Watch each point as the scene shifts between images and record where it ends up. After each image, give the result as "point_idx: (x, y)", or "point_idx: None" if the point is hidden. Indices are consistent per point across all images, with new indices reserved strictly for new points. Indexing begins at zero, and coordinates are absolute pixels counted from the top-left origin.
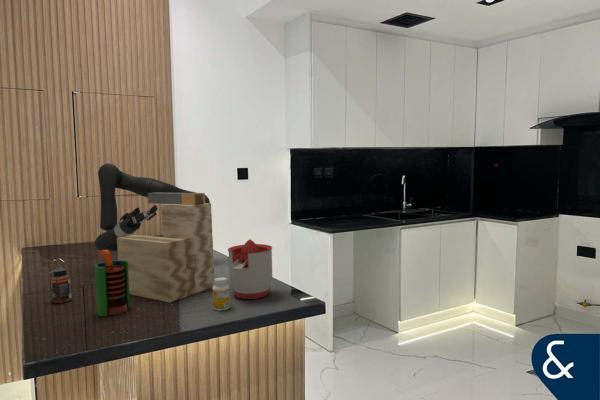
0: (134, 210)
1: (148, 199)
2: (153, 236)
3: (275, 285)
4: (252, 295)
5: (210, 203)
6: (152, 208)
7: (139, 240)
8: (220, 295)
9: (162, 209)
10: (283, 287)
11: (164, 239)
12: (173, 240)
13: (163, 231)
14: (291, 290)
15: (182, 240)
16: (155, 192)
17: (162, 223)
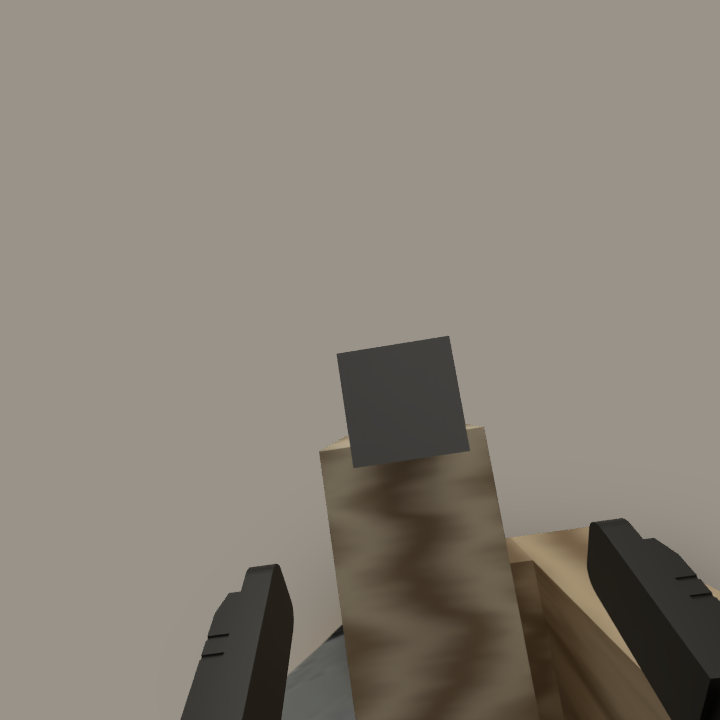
0: (684, 573)
1: (461, 407)
2: (600, 625)
3: (310, 674)
4: None
5: (347, 436)
6: (264, 652)
7: (716, 590)
8: None
9: (487, 456)
10: (321, 655)
11: (576, 558)
12: (553, 539)
13: (515, 603)
14: (337, 636)
15: (521, 538)
16: (356, 352)
17: (506, 550)
